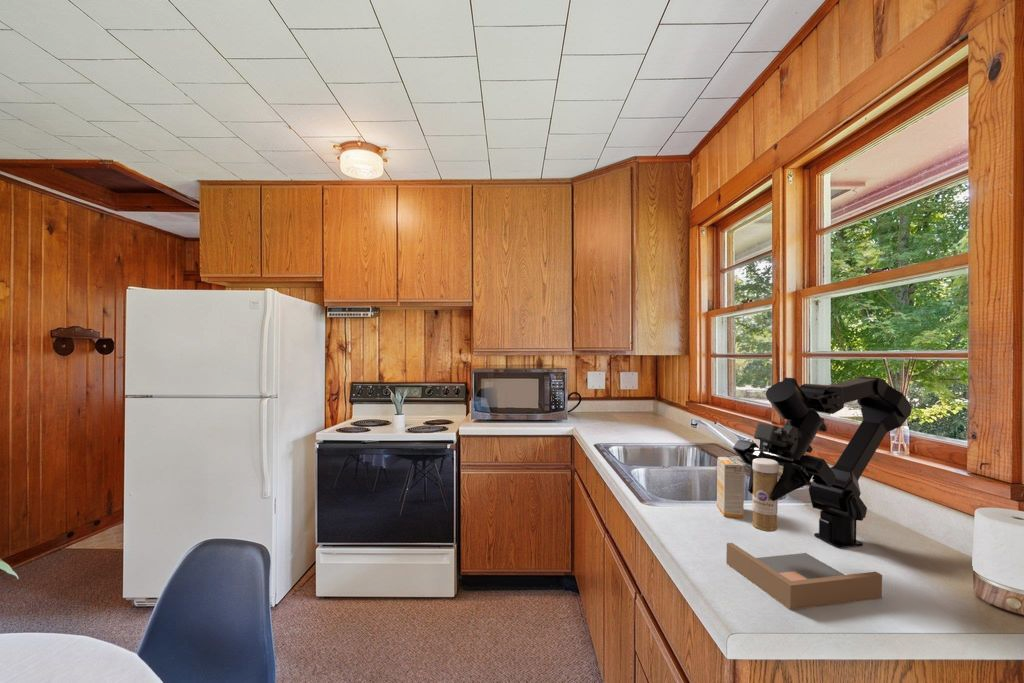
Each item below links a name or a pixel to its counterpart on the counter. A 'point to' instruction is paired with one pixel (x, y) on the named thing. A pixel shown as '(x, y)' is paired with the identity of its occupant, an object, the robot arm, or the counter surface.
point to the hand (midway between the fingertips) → (760, 495)
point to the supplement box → (730, 486)
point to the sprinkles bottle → (764, 494)
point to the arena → (803, 579)
